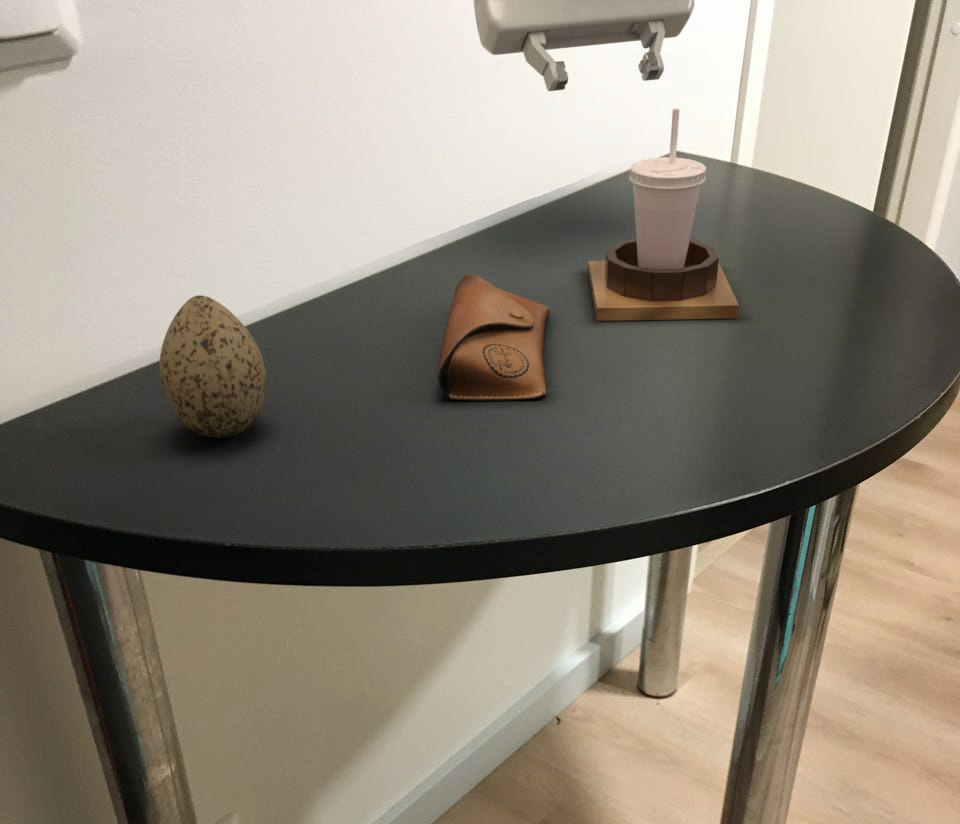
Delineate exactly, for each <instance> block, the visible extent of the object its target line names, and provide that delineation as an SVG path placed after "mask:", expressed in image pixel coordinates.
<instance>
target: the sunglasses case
mask: <svg viewBox="0 0 960 824" xmlns="http://www.w3.org/2000/svg"><path fill="white" fill-rule="evenodd" d="M549 314H550V307H548V306H546V305H544V304H541V303H539V302H537V301H534V300H531V299H528V298H526V297H522V296H520V295H517V294H515V293H511V292H509V291H506V290H503V289H501V288H498V287H497V286H495V285H493V284H492V283H490V282H488V281H487V280H485V279H484V278H482V277H481V276H478V275H476V274H473V273H467V274H465V275H464V276H462V277H461V279H460V280H459V282H458V283H457V285H456V288H455V291H454V294H453V297H452V301H451V303H450V307H449V312H448V318H447V323H446V326H445V331H444V334H443V339H442V346H441V351H440V357H439V365H438V373H437V377H438V378H437V380H438V385H439V388H440V389H441V391H442V392H443V393H444V395H446V397H448V398H449V399H451V400H452V401H470V402H484V403H485V402H508V401H520V400H521V401H522V400H531V399H532V400H533V399H538V398H540V397H541V398H542V397H543V396H545V395H546V394H547V380H546V372H545V366H544V343H545V330H546V323H547V321H548V318H549Z"/></svg>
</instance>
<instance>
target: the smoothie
mask: <svg viewBox="0 0 960 824" xmlns="http://www.w3.org/2000/svg"><path fill="white" fill-rule="evenodd" d="M679 121H680V108H673V109H672V113H671V125H670V126H671V128H670V140H669V156H667V157H665V156H664V157H663V156H662V157H652V158H646V159H641V160H638V161H636V162H633V164H631V165H630V167H629V169H630V171H629V176H628V179H629V182H631V183H632V185H633V188H632V189H633V204H634V206H633V207H634V218H635V219H634V223H635V236H636V237H635V238H636V239H637V256H638V267H644V268H650V269H681V268H684V264H685V260H686V255H687V250H688V245H689V240H690V239H691V235H692V230H693V225H694V221H695V216H696V211H697V206H698V202H699V197H700V191H701V186H702V184H704V183H705V181H706V180H707V177H706V175H707V167H706V165H705V164H703V163H702V162H700V161H697V160H695V159H689V158H684V157H677V149H678V147H677V146H678V137H679V135H678V134H679Z"/></svg>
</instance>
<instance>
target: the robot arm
mask: <svg viewBox="0 0 960 824" xmlns="http://www.w3.org/2000/svg"><path fill="white" fill-rule="evenodd" d="M473 7H474V15H475V21H476V22H475V23H476V26H477V33H478V37H479V41H480V44H481V47H482V48H484V49H485V50H486V51H487V52H488V53H489V54H491V55H493V56H498V55H508V54H520V53H523V56H524V59H525V62H527V64H528V65H529V66H531V68H533V69H534V70H535V71H536V72H537V73H538V74H539V75H540V76H542V77H543V80H544V85H545V87H546V90H547V91H548V92H554V91H555V92H556V91H564V90H565V89H566V85H567V84H568V82H569V74H568V72H567V70H566V65H565V61H564V60H563V61H562V60H560V61H559V60H558V61H556V60H555V59H554V58H553V57H552V55H550V53H549V52H548V50H549V51H550V50H559V49H569V48H580V47H589V46H599V45H610V44H619V43H630V42H631V43H632V42H641V45H642V48H643V49H648V51H647V52H644V54H643V56H642V59H641V60H640V61H639V63H638V65H637V67H638V70H639V73H640V74H641V79H642V81H643V82H649V81H654V80H655V81H657V80H659V79H660V78H661V77H662V75H663V73H664V70H665V65H664V61H663V58H662V55H661V51H662V47H663V43H664V40H665V39H671V38H677V37H678V36H679V35H680V34H681V33H682V31H683V30H684V28H685V27H686V25H687V23H688V22H689V20H690V18H691V16H692V14H693V11H694V8H695V0H473Z"/></svg>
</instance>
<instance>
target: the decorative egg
mask: <svg viewBox="0 0 960 824" xmlns="http://www.w3.org/2000/svg"><path fill="white" fill-rule="evenodd" d="M164 335H165V336H164V338H163V342H162V345H161V350H160V355H159V369H158V371H159V378H160V384H161V389H162V392H163V395H164V397H165V401H166V403H167V405H168V407H169V408H170V410H171V411H172V413H173V414H174V416H176V418H177V419H178V420H179V422H180V423H182V424H183V425H184V426H186V427H187V428H188V429H189V430H191V431H193V432H194V433H197V434H199V435H200V436H201V435H202V436H204V437H208V438H214V439H224V438H231V437H233V436H236V435H238V434H241V433H242V432H244V431H245V430H246V429H248V428H249V427H250V426H251V425H252V424H253V423H254V421H255V420H256V419H257V418H258V416H259V415H260V413H261V410H262V408H263V406H264V402H265V398H266V393H267V382H268V381H267V372H266V371H267V370H266V367H265V363H264V359H263V355H262V352H261V350H260V349H259V346H258V344H257V342H256V341H255V339H254V337H253V336H252V334H251V333H250V331H249V330H248V329H247V327H246V325H244V324H243V323H242V322H241V321H240V319H239V318H238V317H237V316H236V315H235V314H234V313H233V312H231V310H230V309H228V308H227V307H225V305H223V304H222V303H220V302H219V301H217V300H215V299H213V298H211V297H210V296H207V295H198V294H197V295H194V296H192V297H190V298H189V299H187V300H186V302H184V303H183V305H182V306H180V308H179V310H178V311H177V312H176V314H175V315H174V317H173V318H172V320H171V322H170V324H169V326H168V328H167V330H166V333H165V334H164Z"/></svg>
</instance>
